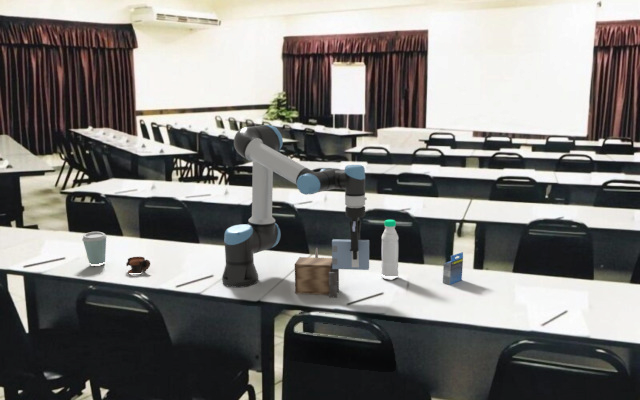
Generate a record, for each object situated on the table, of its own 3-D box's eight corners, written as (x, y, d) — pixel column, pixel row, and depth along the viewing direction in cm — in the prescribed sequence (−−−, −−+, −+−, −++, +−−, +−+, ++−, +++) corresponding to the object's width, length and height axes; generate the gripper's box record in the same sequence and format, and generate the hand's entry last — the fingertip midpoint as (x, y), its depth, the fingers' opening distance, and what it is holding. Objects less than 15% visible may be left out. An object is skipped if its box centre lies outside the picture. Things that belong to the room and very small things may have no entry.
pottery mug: (121, 276, 270) (121, 258, 272) (134, 279, 278) (134, 262, 281) (145, 271, 266) (144, 252, 269) (157, 274, 275) (156, 257, 278)
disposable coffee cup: (113, 263, 287) (111, 232, 285) (94, 269, 278) (91, 237, 276) (99, 260, 293) (96, 230, 290) (79, 266, 284) (76, 234, 281)
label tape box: (454, 278, 258) (455, 250, 256) (462, 280, 256) (463, 251, 253) (442, 283, 252) (443, 254, 250) (450, 285, 249) (451, 256, 247)
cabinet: (293, 296, 240) (293, 266, 237) (300, 285, 252) (299, 257, 250) (336, 297, 237) (336, 267, 235) (341, 286, 249) (340, 258, 247)
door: (332, 268, 236) (331, 241, 234) (333, 266, 239) (332, 239, 237) (368, 270, 234) (368, 242, 232) (369, 267, 237) (369, 240, 235)
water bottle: (400, 276, 262) (400, 219, 257) (395, 281, 255) (395, 222, 251) (384, 274, 265) (384, 218, 260) (379, 279, 258) (379, 221, 254)
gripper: (363, 210, 224) (363, 272, 228) (367, 202, 239) (367, 260, 244) (342, 210, 225) (343, 271, 229) (347, 201, 240) (348, 259, 245)
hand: (355, 265), depth 236 cm, fingers closed on door, 3 cm apart
